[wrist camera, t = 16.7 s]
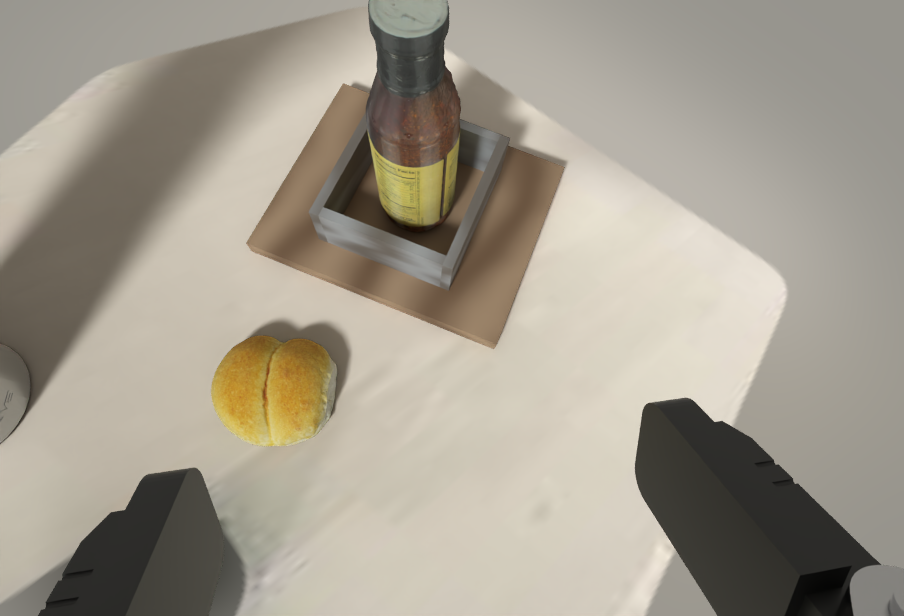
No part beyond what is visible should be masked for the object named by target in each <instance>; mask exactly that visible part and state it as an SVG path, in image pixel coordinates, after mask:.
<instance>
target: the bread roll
mask: <svg viewBox="0 0 904 616" xmlns="http://www.w3.org/2000/svg"><path fill="white" fill-rule="evenodd" d="M336 367H337V365H336V364H335V363H334V362H333V361H332V360H331V358H330V356H329V354H328V353H327V351H326V350H325V349H324V348H323V347H322V346H321V345H319V344H317V343H315V342H313V341H310V340H307V339H292V340H289V341H287V342H285V343H284V342H280V341H278V340H277V339H275V338H273V337H270V336H254V337H251V338H248V339H246V340H244V341H243V342H241V343H239V344H238V345H236V346H234V347H233V348H232V349H231V350H230V351H229V352H228V353H227V355H226V356H225V357H224V359H223V360H222V362H221V363H220V365H219V366H218V368H217V370H216V372H215V375H214V378H213V381H212V387H211V396H212V402H213V405H214V408H215V411H216V413H217V415H218V416H219V418H220V420H221V421H222V423H223V424H224V425H225V426H226V427H227V429H228V430H229V431H230V432H232V433H233V434H234V435H236V436H237V437H239V438H241V439H242V440H243V441H246V442H248V443H250V444H253V445H257V446H290V445H294V444H297V443H301V442H304V441H305V440H307V439H310V438H312V437H314V436H315V435H316V434H318V432H319V431H320V430H321V429H322V428H323V426H324V425H325V424H326V422H327V421H328V420H329V419H330V415H331V412H332V408H333V403H334V399H335V390H336V376H337V368H336Z"/></svg>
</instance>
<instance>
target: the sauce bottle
mask: <svg viewBox="0 0 904 616" xmlns="http://www.w3.org/2000/svg"><path fill="white" fill-rule="evenodd" d="M368 12H369V25H370V31H371V34H372V36H373V38H374V40H375V43H376V51H377V73H376V76H375V79H374V82H373V85H372V88H371V91H370V94H369V97H368V100H367V104H366V113H365V114H366V125H367V131H368V136H369V142H370V147H371V152H372V158H373V163H374V169H375V175H376V180H377V186H378V192H379V197H380V201H381V204H382V206H383V208H384V210H385V212H386V214H387V216H388V218H389V219H390V220H391V221H392V222H393V223H395V224H396V225H398V226H399V227H401V228H403V229H405V230H409V231H412V232H422V231H427V230H429V229H432V228H434V227H436V226H439V225H440V224H442V223H443V222H444V220H445V219H446V218H447V216H448V214H449V212H450V209H451V205H452V204H453V200H454V196H455V184H456V172H457V160H458V150H459V138H460V122H459V119H460V111H461V106H460V98H459V96H458V93H457V90H456V89H455V84H454V83H453V79H452V74H451V72H450V71H449V70H448V69H447V68H446V66H445V61H444V40H445V37H446V35H447V33H448V29H449V6H448V3H447V0H369V4H368Z"/></svg>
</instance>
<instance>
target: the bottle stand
mask: <svg viewBox="0 0 904 616" xmlns="http://www.w3.org/2000/svg"><path fill="white" fill-rule="evenodd" d="M369 94H370V93H367V92H364V91H362V90H359V89H357V88H354V87H351V86H349V85H346V84H343V85H342V86H341V88H340V89H339V91H338V93H337V94H336V96H335V98H334V99H333V101H332V103H331V104H330V106H329V108H328V109H327V111H326V113H325V114H324V116H323V117H322V119H321V121H320V122H319V124H318V126H317V127H316V129H315V131H314V132H313V134H312V136H311V137H310V139H309V141H308V142H307V144H306V146H305V147H304V149H303V150H302V152H301V154H300V155H299V157H298V159H297V160H296V162H295V164H294V165H293V167H292V169H291V170H290V172H289V174H288V175H287V177H286V178H285V180H284V182H283V183H282V185H281V187H280V188H279V190H278V192H277V193H276V195H275V197H274V198H273V200H272V202H271V203H270V205H269V207H268V208H267V210H266V211H265V213H264V215H263V216H262V218H261V220H260V221H259V223H258V225H257V226H256V228H255V230H254V231H253V233H252V235H251V236H250V238H249V239H248V241H247V245H248V246H249V248H250V249H251V251H253V252H255V253H258V254H260V255H263V256H265V257H268V258H270V259H273V260H275V261H278V262H280V263H283V264H285V265H288V266H290V267H293V268H295V269H297V270H300V271H302V272H305V273H307V274H310V275H312V276H315V277H317V278H320V279H322V280H325V281H327V282H330V283H332V284H335V285H337V286H339V287H342V288H344V289H347V290H349V291H352V292H354V293H357V294H359V295H362V296H364V297H367V298H369V299H372V300H374V301H376V302H379V303H381V304H384V305H386V306H389V307H391V308H394V309H396V310H399V311H401V312H404V313H406V314H409V315H411V316H414V317H416V318H418V319H421V320H423V321H426V322H428V323H431V324H433V325H436V326H438V327H441V328H443V329H446V330H448V331H451V332H453V333H456V334H458V335H460V336H463V337H465V338H468V339H470V340H473V341H475V342H478V343H480V344H483V345H485V346H488V347H490V348H493V349H494V348H495V347H496V345H497V342H498V340H499V337H500V335H501V332H502V329H503V327H504V324H505V322H506V319H507V316H508V314H509V311H510V309H511V306H512V303H513V301H514V298H515V295H516V293H517V290H518V288H519V285H520V282H521V280H522V277H523V275H524V272H525V269H526V267H527V264H528V262H529V259H530V256H531V254H532V251H533V248H534V246H535V243H536V241H537V238H538V235H539V233H540V230H541V228H542V225H543V222H544V220H545V217H546V215H547V212H548V209H549V207H550V204H551V201H552V199H553V196H554V194H555V191H556V188H557V186H558V183H559V181H560V178H561V175H562V173H563V170H564V168H565V167H563V166H560V165H557V164H555V163H552V162H549V161H547V160H544V159H542V158H539V157H536V156H534V155H531V154H528V153H526V152H523V151H520V150H518V149H515V148H512V147H510V146H508V143H509V140H510V138H509V137H506V136H503V135H501V134H498V133H495V132H493V131H490V130H487V129H485V128H482V127H480V126H477V125H474V124H472V123H469V122H466V121H464V120H461V119H459V122H460V138H459V150H458V160H457V172H456V184H455V196H454V200H453V204H452V205H451V209H450V212H449V214H448V216H447V218H446V219H445V220H444V222H443V223H442V224H440V225H439V226H436V227H434V228H432V229H429V230H427V231H422V232H412V231H409V230H405V229H403V228H401V227H399V226H398V225H396V224H395V223H393V222H392V221H391V220H390V219H389V218H388V216H387V214H386V212H385V210H384V208H383V206H382V204H381V201H380V197H379V192H378V186H377V180H376V175H375V169H374V163H373V158H372V152H371V147H370V142H369V136H368V131H367V125H366V114H365V113H366V104H367V100H368V97H369Z"/></svg>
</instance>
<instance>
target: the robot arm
mask: <svg viewBox="0 0 904 616" xmlns="http://www.w3.org/2000/svg"><path fill="white" fill-rule="evenodd" d="M30 387H31V385H30V376H29V372H28V370H27V367H26V365H25V362H24V361H23V360H22V359H21V357H20V356H19V355H18V354H17V353H16V352H15V351H13V350H12V349H11V348H9V347H8V346H5V345H3V344H0V443H1V442H2V441H3V440H4V439H5V438H7V437H8V435H9V434H10V433H11V432H12V431H13V429H14V428H15V427H16V426H17V424H18V423H19V421H20V419H21V417H22V416H23V414H24V412H25V409H26V406H27V403H28V401H29V396H30ZM635 474H636V480H637V484H638V487H639V490H640V492H641V495H642V497H643V499H644V500H645V502H646V503H647V505H648V507H649V508H650V510H651V511H652V513H653V515H654V516H655V518H656V519H657V521H658V522H659V524H660V526H661V527H662V529H663V530H664V532H665V533H666V535H667V537H668V538H669V540H670V541H671V543H672V545H673V546H674V548H675V549H676V551H677V552H678V554H679V555H680V557H681V559H682V560H683V562H684V563H685V565H686V567H687V568H688V569H689V571H690V573H691V574H692V576H693V578H694V579H695V580H696V582H697V584H698V586H699V587H700V589H701V590H702V592H703V593H704V595H705V596H706V598H707V600H708V601H709V603H710V604H711V606H712V608H713V609H714V611H715V612H716V614H717V616H904V569H903V568H899V567H894V566H888V565H881V564H880V563H879V562H878V561H877V560H876V559H874V558H873V557H872V556H871V555H870V554H869V553H868V552H867V551H866V550H865V549H864V548H863V547H862V546H861V545H860V544H859V543H858V542H857V541H856V540H855V539H854V538H853V537H852V536H851V535H850V534H849V533H848V532H847V531H846V530H845V529H844V528H843V527H842V526H841V525H840V524H839V523H838V522H837V521H836V520H835V519H833V517H832V516H830V515H829V514H828V513H827V512H826V511H825V510H824V509H823V508H822V507H821V506H820V505H819V504H818V503H817V502H816V501H815V500H814V499H813V498H812V497H811V496H810V495H809V494H808V493H807V492H806V491H805V490H804V489H803V488H802V487H801V486H800V485H799V484H794V482H793V478H792V477H791V476H790V475H789V474H788V473H787V472H786V471H785V470H784V469H782V467H780V465H775V463H774V460H773V459H772V458H771V457H770V456H769V455H768V454H767V453H766V452H765V451H764V450H763V449H762V448H761V447H760V446H759V445H758V444H757V443H756V442H755V441H754V440H753V439H752V438H751V437H749V436H747V435H745V434H744V433H742V432H740V431H738V430H737V429H735V428H733V427H732V426H730V425H728V424H726V423H725V422H723V421H719V422H714V421H713V420H712V419H711V418H710V417H709V416H708V415H707V414H706V413H705V412H704V411H703V410H702V409H701V408H700V407H699V406H698V405H697V404H696V403H695V402H694V401H693V400H691V399H689V398H680V399H673V400H666V401H660V402H653V403H648V404H646V405H645V407H644V409H643V412H642V419H641V426H640V433H639V440H638V447H637V454H636V461H635ZM223 557H224V539H223V532H222V528H221V525H220V523H219V520H218V517H217V514H216V512H215V509H214V506H213V504H212V501H211V498H210V495H209V493H208V490H207V487H206V484H205V482H204V479H203V476H202V474H201V472H200V471H199V470H198V469H197V468H188V469H181V470H174V471H168V472H161V473H154V474H148V475H146V476H145V477H144V478H143V479H142V480H141V481H140V483H139V485H138V487H137V489H136V490H135V492H134V494H133V496H132V498H131V500H130V502H129V504H128V505H127V507H126V509H125V510H123V511H117V512H111V513H110V514H109V515H108V516H107V517H106V518H105V519H104V520H103V521H102V522H101V523H100V524H99V525H98V526H97V527H96V528H95V529H94V530H93V531H92V532H91V533H90V534H89V535H88V536H87V537H86V538H85V539H84V540H83V541H82V542H81V543H80V545H79V547H78V548H77V550H76V552H75V553H74V555H73V557H72V559H71V560H70V562H69V564H68V565H67V567H66V569H65V571H64V572H63V578H62V580H61V581H58V582H57V584H56V586H55V588H54V589H53V591H52V593H51V594H50V596H49V598H48V600H47V601H46V608H45V609H44V610H41V611H40V613H39V615H38V616H209V612H210V609H211V605H212V602H213V598H214V594H215V591H216V587H217V584H218V580H219V576H220V573H221V569H222V564H223Z"/></svg>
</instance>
